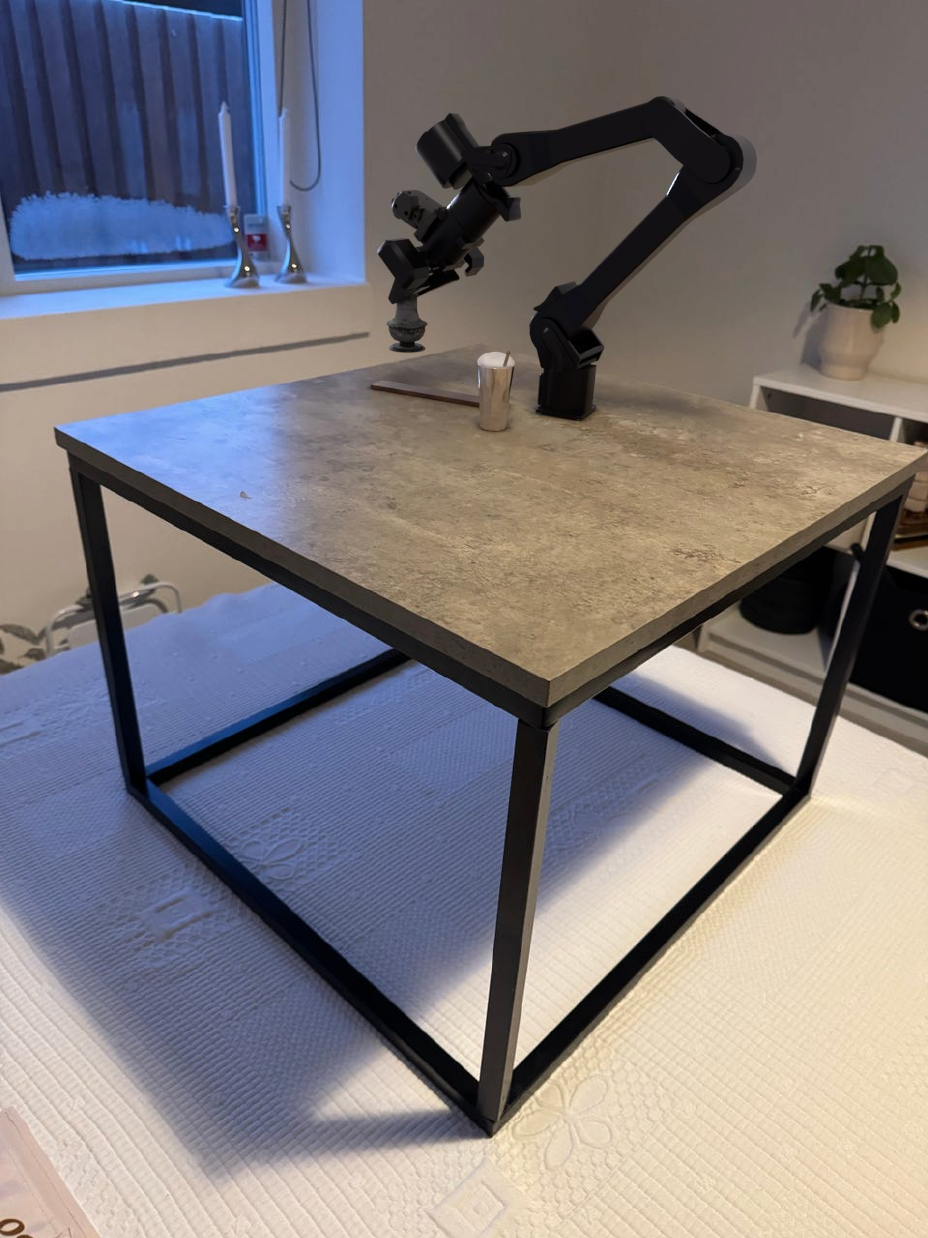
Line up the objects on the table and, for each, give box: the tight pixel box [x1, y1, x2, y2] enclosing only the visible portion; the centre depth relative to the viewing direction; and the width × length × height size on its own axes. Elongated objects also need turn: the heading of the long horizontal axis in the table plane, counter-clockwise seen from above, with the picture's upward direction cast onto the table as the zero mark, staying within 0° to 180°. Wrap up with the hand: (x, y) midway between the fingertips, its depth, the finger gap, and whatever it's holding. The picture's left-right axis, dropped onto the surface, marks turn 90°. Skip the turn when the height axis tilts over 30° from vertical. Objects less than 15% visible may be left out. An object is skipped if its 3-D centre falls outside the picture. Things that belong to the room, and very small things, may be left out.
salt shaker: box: [385, 293, 428, 354], centre depth 121 cm, size 6×6×12 cm
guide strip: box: [370, 379, 480, 408], centre depth 119 cm, size 20×3×1 cm, turn 63°
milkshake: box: [476, 350, 516, 432], centre depth 105 cm, size 4×5×10 cm
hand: (398, 299), depth 121 cm, fingers closed on salt shaker, 3 cm apart
